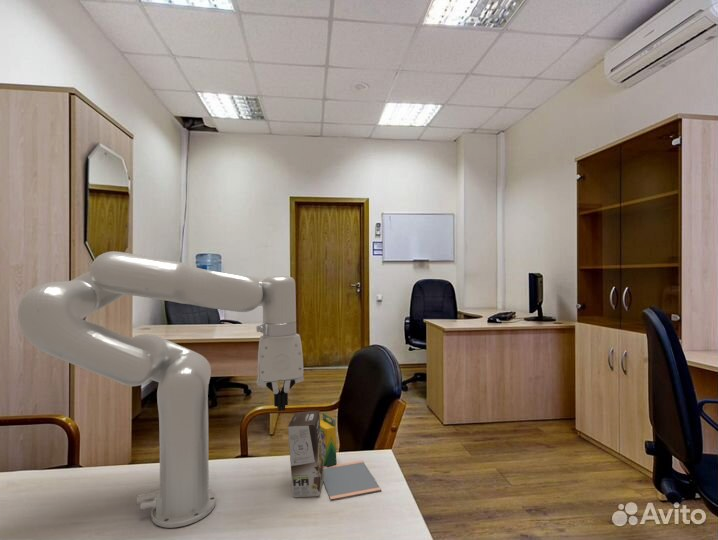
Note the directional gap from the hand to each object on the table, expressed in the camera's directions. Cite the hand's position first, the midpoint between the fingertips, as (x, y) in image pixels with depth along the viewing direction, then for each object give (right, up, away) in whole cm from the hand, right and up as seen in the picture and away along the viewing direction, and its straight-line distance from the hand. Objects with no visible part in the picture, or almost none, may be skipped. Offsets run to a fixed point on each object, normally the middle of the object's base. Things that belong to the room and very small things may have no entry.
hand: (281, 408), depth 87 cm
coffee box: (+6, -19, +2) cm, 20 cm away
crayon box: (+9, -19, +13) cm, 25 cm away
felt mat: (+15, -19, +5) cm, 25 cm away
